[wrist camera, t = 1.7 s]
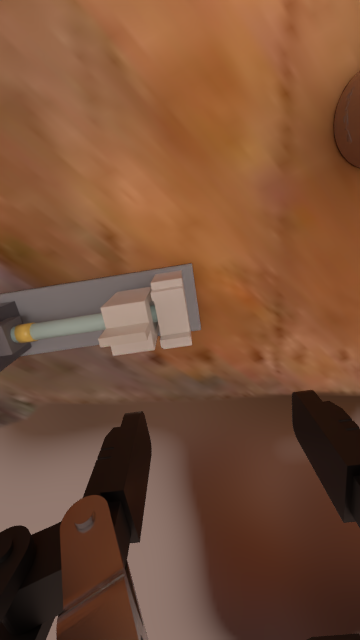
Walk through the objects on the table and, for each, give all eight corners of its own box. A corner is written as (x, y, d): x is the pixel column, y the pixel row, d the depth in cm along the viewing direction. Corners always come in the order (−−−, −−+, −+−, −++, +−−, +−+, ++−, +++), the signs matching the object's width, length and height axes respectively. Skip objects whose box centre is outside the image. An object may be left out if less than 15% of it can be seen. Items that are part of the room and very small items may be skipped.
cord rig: (191, 263, 30) (194, 272, 23) (200, 327, 33) (205, 352, 26) (-22, 297, 32) (-78, 315, 25) (3, 356, 34) (-42, 387, 27)
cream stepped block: (152, 286, 29) (140, 308, 21) (159, 326, 31) (151, 362, 22) (117, 291, 29) (91, 316, 21) (126, 331, 31) (106, 368, 22)
